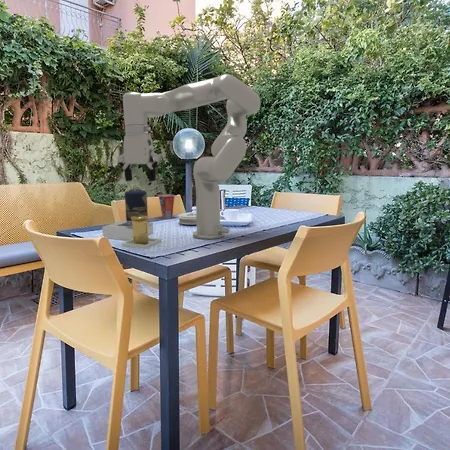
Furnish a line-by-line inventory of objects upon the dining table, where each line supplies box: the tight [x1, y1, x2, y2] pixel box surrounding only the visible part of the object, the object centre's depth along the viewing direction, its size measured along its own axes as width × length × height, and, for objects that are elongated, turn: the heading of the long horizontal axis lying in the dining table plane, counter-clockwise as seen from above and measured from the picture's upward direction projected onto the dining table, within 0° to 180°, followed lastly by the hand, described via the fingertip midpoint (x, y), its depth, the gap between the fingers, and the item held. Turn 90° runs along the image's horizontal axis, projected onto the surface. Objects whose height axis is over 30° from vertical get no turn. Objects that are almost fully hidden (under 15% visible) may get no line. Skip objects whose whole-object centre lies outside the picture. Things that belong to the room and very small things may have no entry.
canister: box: [124, 188, 149, 222], centre depth 157 cm, size 10×10×18 cm
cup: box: [157, 194, 176, 220], centre depth 183 cm, size 9×8×12 cm
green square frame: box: [121, 237, 162, 249], centre depth 129 cm, size 10×10×2 cm
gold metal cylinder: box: [131, 215, 150, 245], centre depth 128 cm, size 6×6×10 cm
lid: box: [178, 212, 197, 225], centre depth 169 cm, size 13×13×5 cm
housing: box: [102, 220, 154, 241], centre depth 142 cm, size 14×14×5 cm
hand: (140, 180), depth 125 cm, fingers open, 9 cm apart
